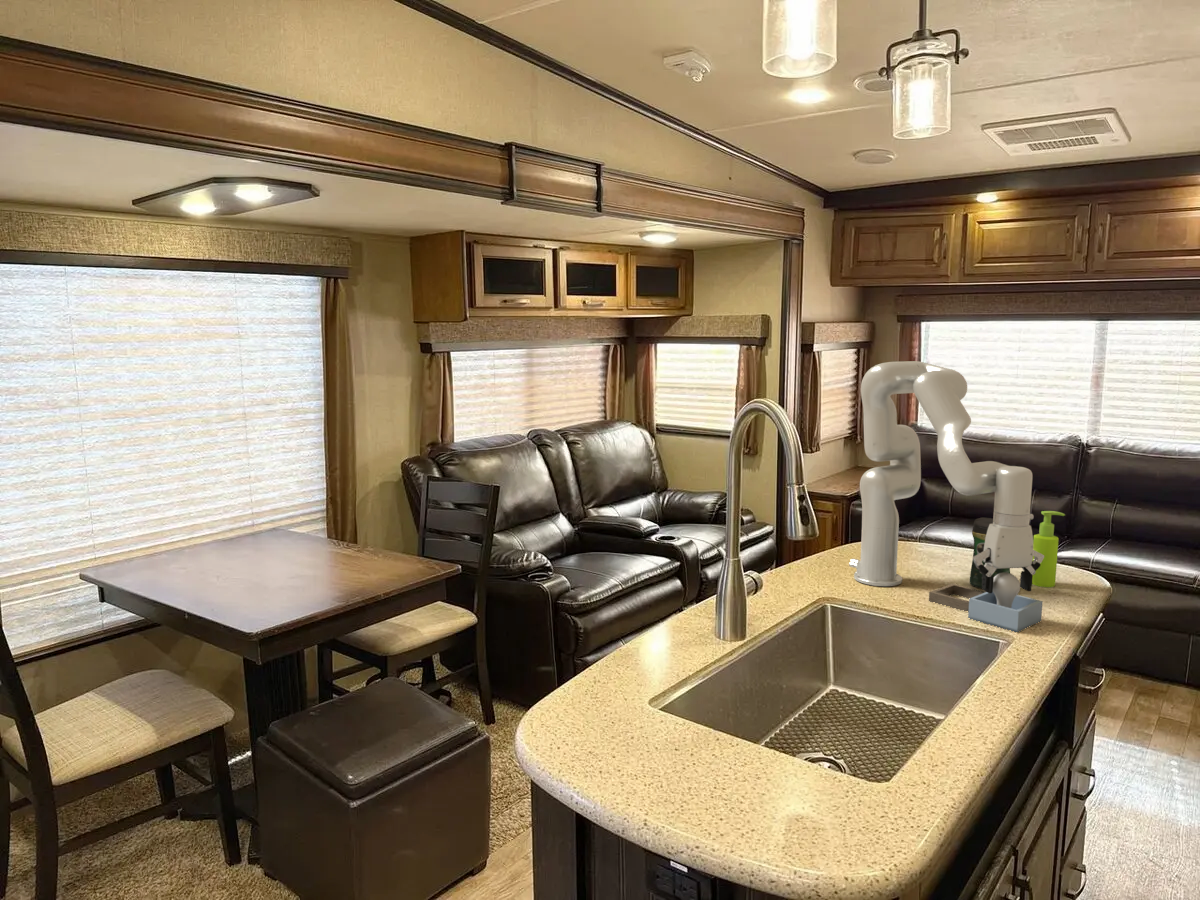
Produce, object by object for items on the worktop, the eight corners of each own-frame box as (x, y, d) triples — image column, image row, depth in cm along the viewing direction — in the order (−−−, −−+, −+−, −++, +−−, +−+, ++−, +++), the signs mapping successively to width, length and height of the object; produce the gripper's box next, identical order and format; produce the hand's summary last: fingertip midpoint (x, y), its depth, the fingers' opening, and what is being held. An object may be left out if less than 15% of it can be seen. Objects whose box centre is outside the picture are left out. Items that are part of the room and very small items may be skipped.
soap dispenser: (1062, 588, 217) (1068, 514, 214) (1034, 586, 218) (1039, 513, 216) (1054, 581, 223) (1060, 509, 220) (1027, 580, 224) (1032, 508, 221)
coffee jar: (1014, 588, 217) (1019, 520, 215) (1001, 594, 212) (1005, 524, 210) (978, 579, 225) (982, 513, 222) (964, 585, 220) (968, 518, 217)
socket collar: (928, 601, 207) (929, 591, 207) (951, 592, 214) (952, 583, 213) (970, 613, 199) (971, 603, 198) (993, 603, 205) (994, 594, 205)
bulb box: (968, 618, 195) (969, 598, 194) (992, 608, 202) (993, 589, 201) (1017, 632, 186) (1018, 611, 185) (1041, 621, 192) (1042, 601, 192)
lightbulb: (989, 611, 197) (991, 567, 196) (1017, 615, 195) (1020, 570, 193) (989, 620, 192) (992, 575, 190) (1018, 623, 189) (1021, 578, 188)
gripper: (1035, 514, 195) (1030, 584, 197) (967, 517, 193) (963, 587, 195) (1056, 522, 187) (1050, 593, 190) (986, 524, 185) (981, 597, 188)
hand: (1006, 590), depth 192 cm, fingers open, 9 cm apart
